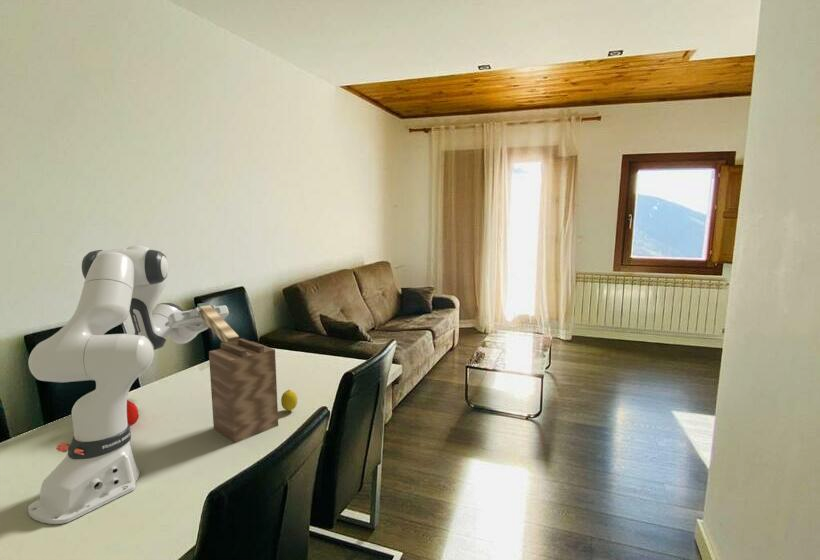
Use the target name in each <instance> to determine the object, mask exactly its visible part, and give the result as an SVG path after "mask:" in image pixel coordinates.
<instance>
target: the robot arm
mask: <svg viewBox="0 0 820 560" xmlns="http://www.w3.org/2000/svg"><path fill="white" fill-rule="evenodd" d="M169 269H170V266H169V262H168V259H167V257H166V255H165V254H164V253H163V252H162V251H159V250H156V249H155V250H154V249H150V248H149V247H147V246H145V245H141V244H134V245H130V246H128V247H125V248H116V249H106V250H103V249H98V250H92V251H89V252H88V253H87V254H85V256H83V258H82V261H81V272H82V276H83V278H84V283H83V287H82V290H81V295H80V298H79V300H78V303H77V307H76V309H75V311H74V313H73V315H72V316H71V318H70V319H69V320H68V322H66V324H65V325H63V327H61V328H60V329H59V330H58V331H56V332H55V333H54V334H53V335H51V336H49V337H48V338H46V339H44V340H42V341H40V342H39V343H37V344H36V345H35V347H33V349H32V350H31V352H30V354H29V357H28V362H27V363H28V369H29V371H30V373H31V375H32V376H33V377H34V378H35V379H36V380H38V381H41V382H49V383H50V382H51V383H70V382H71V383H72V382H84V381H95V389H94V390H92V391H90V392H88V393H86V394H85V395H82V396H81V397H80V398H79V399H77V400H76V402H75V403H74V405H73V406H72V408H71V420H72V429H73V437H72V439H71V442H70V444H69V443H65V442H63V441H62V442H59V443H58V444H57V446H56V448H55V449H56V451H57V452H62V453H67V455H66V456H65V457H64V458H63V459H62V461H60V463H59V464H58V465H57V466H56V467H55V468H54V469H53V470H52V471H51V473H50V474H48V476H46V477H45V479H44V480H43V481H42V483H41V484H40V485H41V486H40V491H39V498H38V499H36V500H34V501H33V502H31V503H30V504H29V505H28V510H27V512H28V513H27V514H28V515H29V517H32V518H31V519H33V520H34V521H35V520H36V521H37V522H40V523H44V524H49V525H61V524H66V523H70V522H72V521H73V520H75V519H78V518H79V517H82V516H84V515H86V514H88V513H90V512H92V511H94V510H97V509H98V508H101V507H102V506H104V505H106V504H109V503H110V502H112V501H115V500H116V499H118V498H120V497H122V496H124V495H126V494H129V493H131V492H133V491H134V490H135V489H136V488H137V486H136V482H137V480H138V479H139V478H140V474H141V473H140V469H139V468H138V465H137V464H136V461H135V458H134V454H133V451H132V446H131V439H132V434H131V426H130V425H129V424H128V423H127V400H128V395H129V391H130V390H131V387H132V385H133V384H134V383H135V382H136V380H137V379H138V378H139V377H140V376H141V375H142V374H144V373H145V372H146V371H148V369H149V368H150V367H151V364H152V363H153V360H154V358H155V357H154V356H155V350H158V349H159V350H160V349H161V348H163V347H164V346H165V344H166V342H167V339H168V338H170V340H171V341H172V342H173V343H175V344H178V345H183V344H188V343H189V342H191V341H192V340H193V339H195V338H196V337H197V336H198V334H200V333H202V332H204V331H207V330H209V329H211V328H210V327H209V326H208V325H207V324H206V323H205V321H204V320H203V319H202V318H201V317H200V316H199V315H198V313H201V312H202V310H201V307H197V306H196V307H195V308H194V309H190V310H189V309H188V310H184V309H183V308H182V307H181V306H179V305H177V304H175V303H173V302H172V303H171V302H163V303H162V302H161V303H158V304H156V302H157V301H158V300H159V298H160V297H161V295H162V293H163V291H164V289H165V286H166V279H167V277H168V274H169ZM210 306H211V307H212V308H213V309H214V310H215V311H216V312H217V313H218V314H219V316H220V317H221V318H222V319H223V320H224V321H225V319H226V318H227V317H228V315H229V314H230V313H229V308H228V306H227V305H225V304H224V305H218V306H216V305H215V304H213V305H210ZM129 315H130V318H131V322H132V325H133V329H134V334H133V333H132V334H131V333H111V334H106V333H107V332H108V331H110V330H112V329H114V328H115V327H118V326H119V325H122V324H123V323H124V322H125V321H126V320H127V318H128V317H129Z"/></svg>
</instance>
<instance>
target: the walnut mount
mask: <svg viewBox="0 0 820 560" xmlns="http://www.w3.org/2000/svg"><path fill="white" fill-rule="evenodd" d="M219 345H220V348H218V349H213V350H209V351H208V358H209V359H208V360H209V374H210V375H209V376H210V391H211V404H212V405H211V407H212V409H211V410H212V421H213V422H212V423H213V429H214V430H215V431H216V432H218V433H220V434H221V435H222V436H224V437H225V438H227V439H228V440H230V441H231V442H232V443H233V444H236V443H238V442H241V441H244V440H245V439H249V438H251V437H253V436H257V435H259V434H261V433H263V432H266V431H268V430H270V429H273V428H276V427H277V426H279V415H278V412H279V411H278V388H277V369H276V368H277V367H276V366H277V362H276V349H275V348H272V347H270V346H269V347H268V345H264V344H260V343H258V342H255V341H252V340H248V339H245V338H243V337H241V338H240V337H239V340H238V345H237V346H234V345H232V344H229V343H227V342H222V341H221V342H220V343H219Z"/></svg>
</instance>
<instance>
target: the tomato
mask: <svg viewBox="0 0 820 560" xmlns="http://www.w3.org/2000/svg"><path fill="white" fill-rule="evenodd" d="M139 416H140V414H139V409H138V407H137V406H136V404H135V403H134V402H133V401H132V402H131V401H130V400H128V399H127V423H128V424H129V425H130V427H132V426H133V425H136V423H137V422H138V421H139Z"/></svg>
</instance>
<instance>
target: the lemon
mask: <svg viewBox="0 0 820 560" xmlns="http://www.w3.org/2000/svg"><path fill="white" fill-rule="evenodd" d="M281 395H282V396H281V399H280V403H281V406H282V408H283V409H284V410H286V411H288V412H291V411H293V410H294V409H295V408H296V407H297V404H298V396H297V394H296V392H295V391H294V390H291V389H288V390H285V391H284V392H283V393H282V394H281Z"/></svg>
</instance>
